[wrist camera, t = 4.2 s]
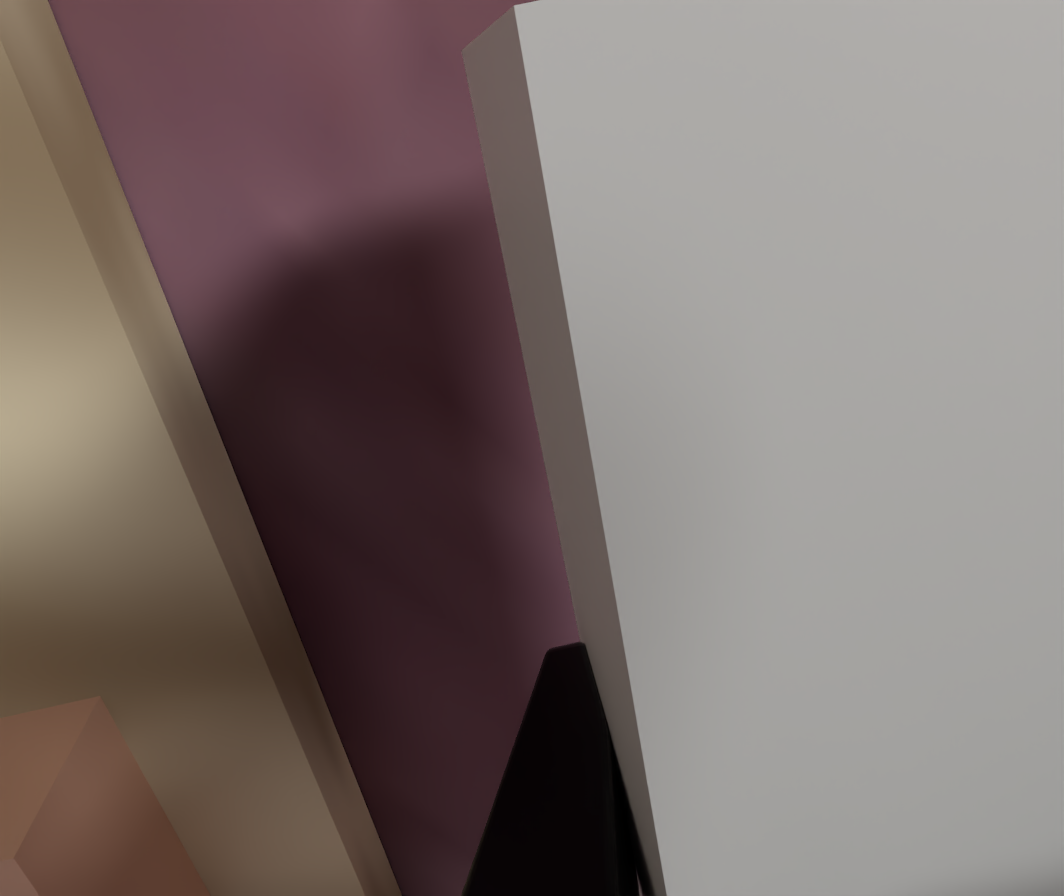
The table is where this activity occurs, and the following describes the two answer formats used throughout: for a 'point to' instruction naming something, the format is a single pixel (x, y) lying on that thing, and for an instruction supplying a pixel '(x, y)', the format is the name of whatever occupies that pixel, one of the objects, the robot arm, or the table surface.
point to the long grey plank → (802, 421)
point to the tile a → (82, 811)
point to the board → (144, 522)
